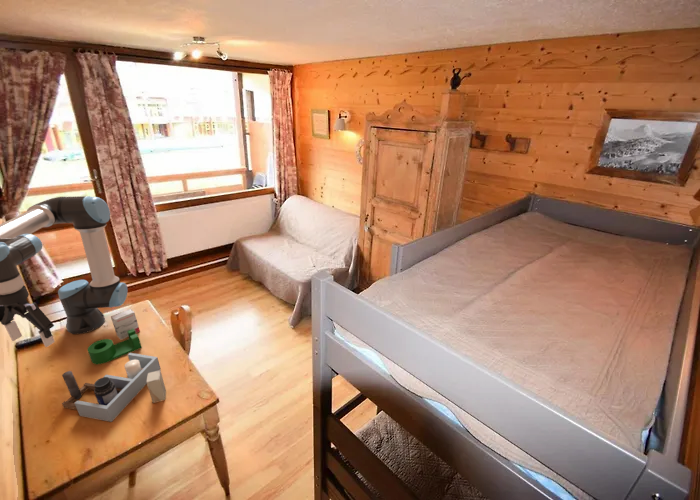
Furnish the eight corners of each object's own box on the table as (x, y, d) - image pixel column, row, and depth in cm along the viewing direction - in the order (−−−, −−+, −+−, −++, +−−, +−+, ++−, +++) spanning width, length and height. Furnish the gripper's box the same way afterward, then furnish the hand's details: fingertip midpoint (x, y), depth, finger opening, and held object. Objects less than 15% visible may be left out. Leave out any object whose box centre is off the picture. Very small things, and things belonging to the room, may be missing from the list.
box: (154, 393, 127) (147, 372, 122) (166, 390, 128) (160, 369, 124) (152, 403, 122) (146, 382, 118) (165, 400, 124) (159, 379, 119)
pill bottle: (98, 403, 122) (89, 381, 117) (117, 393, 126) (109, 372, 121) (102, 413, 118) (93, 391, 113) (121, 403, 122) (114, 381, 117)
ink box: (136, 327, 162) (130, 307, 157) (140, 331, 159) (134, 311, 154) (116, 335, 155) (110, 315, 150) (120, 340, 153) (113, 320, 148)
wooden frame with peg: (85, 386, 128) (76, 363, 123) (131, 394, 126) (124, 371, 121) (61, 407, 119) (50, 383, 114) (111, 416, 117) (102, 392, 112)
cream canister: (135, 373, 135) (131, 358, 132) (146, 375, 135) (142, 360, 131) (126, 382, 131) (121, 367, 127) (137, 384, 130) (132, 369, 127)
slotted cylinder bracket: (94, 367, 137) (89, 356, 134) (89, 356, 143) (85, 345, 140) (141, 348, 149) (138, 337, 146) (136, 338, 155) (132, 327, 152)
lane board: (133, 364, 140) (129, 352, 137) (160, 368, 138) (157, 357, 135) (80, 415, 117) (74, 403, 114) (111, 421, 115) (106, 409, 112)
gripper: (-38, 290, 102) (-9, 342, 111) (29, 300, 98) (53, 354, 107) (-10, 278, 109) (15, 329, 118) (53, 288, 105) (74, 339, 114)
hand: (33, 341), depth 113 cm, fingers open, 13 cm apart
